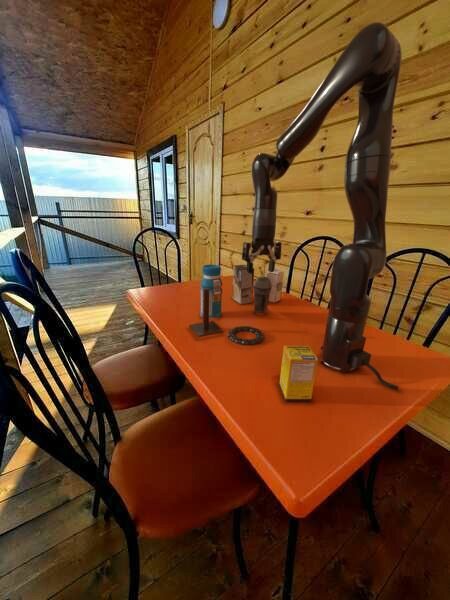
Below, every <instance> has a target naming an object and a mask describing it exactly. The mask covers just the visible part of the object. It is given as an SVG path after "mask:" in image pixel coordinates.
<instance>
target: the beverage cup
mask: <svg viewBox="0 0 450 600" xmlns="http://www.w3.org/2000/svg"><path fill="white" fill-rule="evenodd" d="M265 274H266V266H265V265H264V266H263V271H262V276H258V277H257V278H256V279H255V281H254V282H253V297H254V299H253V300H254V301H253V302H254V304H253V306H254V307H253V308H254V312H255V313H257V314H265V313H267V311H268V305H269V301H268V300H269V295H270V291H271V288H272V285H271V281H270V280H269V279H268V278H267V276H265Z"/></svg>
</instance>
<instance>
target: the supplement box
mask: <svg viewBox="0 0 450 600" xmlns="http://www.w3.org/2000/svg"><path fill="white" fill-rule="evenodd" d="M318 361H319V359H318V357H317V355H316V354H315V353H314V351H313V350H312V349H311V347H310V346H309V345H283V351H282V359H281V366H280V375H279V385H278V387H279V388H280V391H281V394H282V396H283V399H284V402H312V397H313V391H314V386H315V379H316V373H317V368H318V363H319V362H318Z"/></svg>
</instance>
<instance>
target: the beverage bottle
mask: <svg viewBox="0 0 450 600" xmlns="http://www.w3.org/2000/svg"><path fill="white" fill-rule="evenodd" d="M221 270H222V268H221V266H220V265H218V264H204V265H203V266H202V276H203V277H202V278H201V280H200V289H199V293H200V313H199V314H200V317H203V288H209V319H213V318H218V317H221V315H222V299H223V288H222V286H223V281H222V280H221V278H220V276H221V273H222V271H221Z"/></svg>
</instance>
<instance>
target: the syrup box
mask: <svg viewBox="0 0 450 600" xmlns="http://www.w3.org/2000/svg"><path fill="white" fill-rule="evenodd" d="M284 275H285V271H284V270H281V269H277V268H275V269H274V271H273V272H269V271H268V270H267V271H266V277H267V278H268V279H269V280H270V281H271V285H272V288H271V291H270V295H269V300H268V302H270V303H274V304H275V303H277V302H280V301H281V297H282V291H283V282H284Z"/></svg>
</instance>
